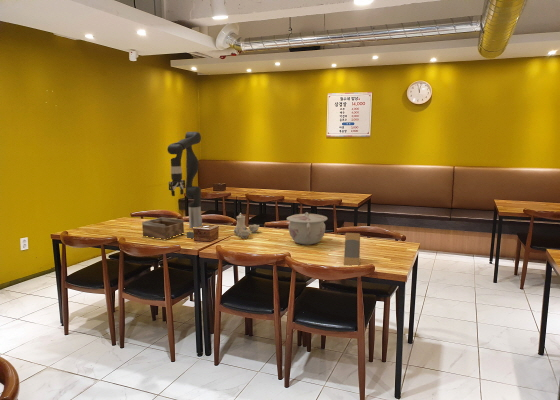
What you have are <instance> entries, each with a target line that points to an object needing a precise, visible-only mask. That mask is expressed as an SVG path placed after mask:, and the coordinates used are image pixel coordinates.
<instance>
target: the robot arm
mask: <svg viewBox="0 0 560 400" xmlns="http://www.w3.org/2000/svg"><path fill="white" fill-rule="evenodd" d="M184 137H185V138H183V139H180V140H179V141H177V142H174V143H171V144H169V145H168V146H167V153H168V154H170V155H176V156H175V157H172V158H171V159H170V175H171V176H170V179H171V181H168V191H170V192H171V194H170V195H171V196H172V197H175V196H176V194H175V193H176V192H175V190H176V189H177V188H179V192H180V193H179V194H180V195H184V190H185V196H186V198H188V199H193V201H190V202H189V203H188V222H189V229H190V228H192V229H191V230H194V229H193V227H199V226H202V227H203V216H202V210H201V209H202V208H201V204H202V191H201V188H200V186H198V185H197V186H196V185H193V182H194V178H195V177H196V175H197V174H198V171H199V160H198V157H197V156H196V154H195V152H194V150H193V145H196V144H197V145H198V144H200V142H202V141H201V140H202V136H201V133H200V132H198V131H186V133H185V136H184ZM184 150H185V153H186V157H185V158H186V159H185V160H186V161H185V162H186V163H185V167H186V168H185V169H186V178H185V179H183V170H182V169H183V168H182V156H183V153H184Z"/></svg>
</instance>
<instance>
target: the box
mask: <svg viewBox="0 0 560 400" xmlns="http://www.w3.org/2000/svg"><path fill="white" fill-rule="evenodd" d="M141 225H142V237H143V236H148V237H154V238H161V239H167V238H170V237H173V236H176V235H179V234H182V233H184V234H185V228H184V227H185V226H184V219H178V218H169V217H162V216H161V217H158V218H154V219H149V220H145V221H142V222H141ZM148 237H147V238H148ZM154 238H153V239H154ZM161 239H160V240H161ZM167 240H168V239H167Z"/></svg>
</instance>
